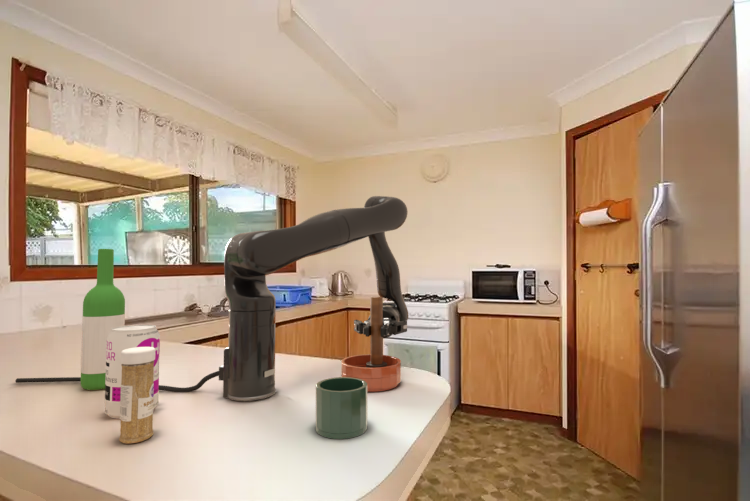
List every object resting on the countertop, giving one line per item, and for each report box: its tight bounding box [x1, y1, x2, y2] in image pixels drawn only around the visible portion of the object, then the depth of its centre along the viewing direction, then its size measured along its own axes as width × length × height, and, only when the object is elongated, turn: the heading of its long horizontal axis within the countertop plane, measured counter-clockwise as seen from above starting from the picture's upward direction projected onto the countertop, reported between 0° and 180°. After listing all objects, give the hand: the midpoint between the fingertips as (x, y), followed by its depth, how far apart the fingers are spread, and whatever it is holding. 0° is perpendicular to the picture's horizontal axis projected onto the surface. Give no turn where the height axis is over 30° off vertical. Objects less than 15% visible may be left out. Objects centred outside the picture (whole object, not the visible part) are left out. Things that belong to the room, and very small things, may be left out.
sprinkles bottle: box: [118, 347, 155, 445], centre depth 60 cm, size 5×5×13 cm
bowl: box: [340, 353, 402, 393], centre depth 88 cm, size 13×13×5 cm
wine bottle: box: [80, 248, 126, 391], centre depth 87 cm, size 8×8×30 cm
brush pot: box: [315, 376, 368, 440], centre depth 64 cm, size 8×8×7 cm
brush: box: [366, 296, 387, 368], centre depth 90 cm, size 5×5×18 cm
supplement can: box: [104, 324, 161, 420], centre depth 71 cm, size 8×8×15 cm
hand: (374, 332), depth 87 cm, fingers closed on brush, 3 cm apart
